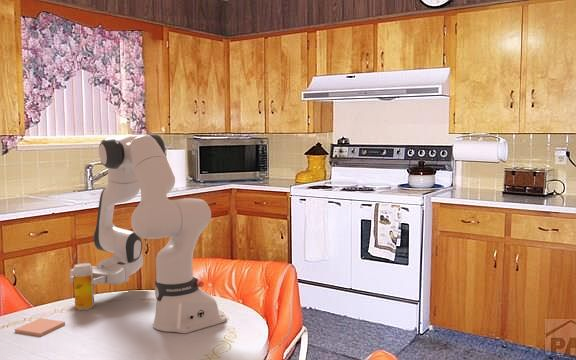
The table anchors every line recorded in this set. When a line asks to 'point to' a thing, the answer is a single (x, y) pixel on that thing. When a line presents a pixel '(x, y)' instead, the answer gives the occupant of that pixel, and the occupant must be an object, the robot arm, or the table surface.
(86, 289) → the beer can
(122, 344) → the table surface
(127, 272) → the robot arm
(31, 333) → the tile
